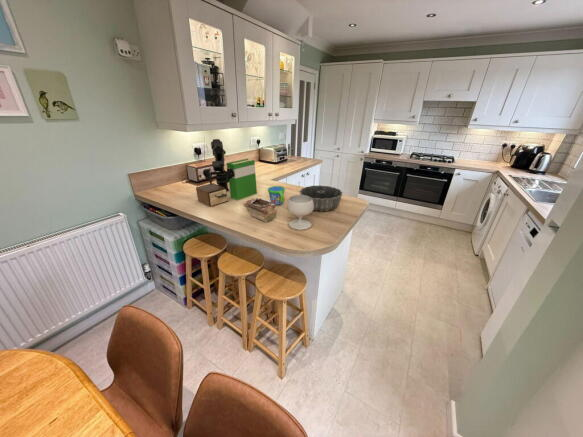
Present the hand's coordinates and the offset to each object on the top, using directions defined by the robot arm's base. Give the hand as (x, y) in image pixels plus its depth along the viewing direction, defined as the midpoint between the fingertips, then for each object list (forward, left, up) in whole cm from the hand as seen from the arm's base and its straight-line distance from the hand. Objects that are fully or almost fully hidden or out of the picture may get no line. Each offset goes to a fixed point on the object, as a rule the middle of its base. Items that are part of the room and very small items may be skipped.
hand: (218, 184), depth 144 cm
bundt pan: (-41, +49, -14) cm, 65 cm away
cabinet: (0, -10, -14) cm, 17 cm away
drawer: (0, -5, -13) cm, 14 cm away
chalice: (-13, +56, -14) cm, 59 cm away
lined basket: (-4, +32, -14) cm, 35 cm away
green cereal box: (-21, -3, -14) cm, 25 cm away
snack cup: (-26, +25, -14) cm, 38 cm away
